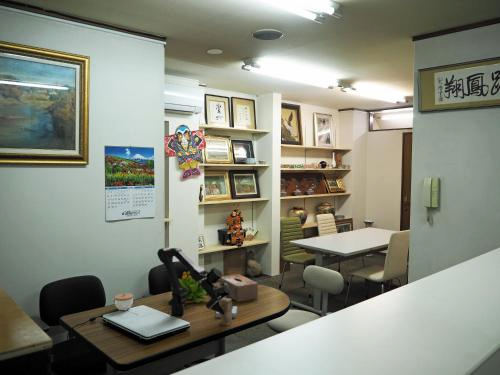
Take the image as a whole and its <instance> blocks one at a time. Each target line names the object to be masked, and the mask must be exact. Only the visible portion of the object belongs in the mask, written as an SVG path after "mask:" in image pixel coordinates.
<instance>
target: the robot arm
mask: <svg viewBox="0 0 500 375" xmlns="http://www.w3.org/2000/svg"><path fill="white" fill-rule="evenodd" d="M156 254H157V257H158V259H159V260H160V262H161V263H162V264H163V265H164V268H165V271H166V274H167V278H168V279H169V280H168V281H169V282H170V286H171V297H172V298H171V299H170V300H169V301H168V305H169V306H170V309H171V314H170V317H171V316H175V317H178V318H179V317H183V316H184V314H185V305H184V302H185V300H186V299H187V297H188V295H187V294H188V292H187V291H186V287H182V286H181V284H180V282H179V279H180V278H179V276H178V272H177V270H176V267H175V265H174V261H173V260H174V258H176V259H177V260H178V261H179V262H180V263H181V264H182V266H184V267H185V269H186V270H187V271H188V272H190V274H189V276H191V277H192V278H193V280H194V281H200V280H202V279H203V280H202V281H201V282H199V283H198V288H199V287H201V286H202V288H203V289H204V291H206V293H207V294H206V295H207V296H206V297H208V295H209V298H210V299H209V301H207V302H206V303H205V307H206V309H207V310H212V311H214V312H219V313H221V314H223V315H224V314H225V312H224V311H223V309H222V308H221V306H220V300H221V299H223V298H229V299H231V298H230V293H231V292H230V291H229V289H228V287H229V286H228V285H227V284H226V283H223V284H222V286H221V287H220V286H218V285H215V284H217V282H218V281H220V278H221V277H223V273H222V271H221V270H219V269H217V268H216V267H213V268H211V269H210V270H209V271H208V270H206V269H204V268H203V267H202V266H200V265H197V264H196V263H195V262H193V261H192V259H190V257H189V256H188V255H187V254H186V253H185V252H184V251H183V250H182V249H181V248H179V247H178V248H176V247H175V248H174V247H172V248H171V247H169V246H166V247H162V248H159V249H158V250H157V252H156ZM232 309H233V307H232Z"/></svg>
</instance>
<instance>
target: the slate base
mask: <svg viewBox="0 0 500 375" xmlns="http://www.w3.org/2000/svg"><path fill="white" fill-rule="evenodd" d="M232 307H233V309H232V319H233V318H235V319H236V318H237V314H238V306H237V305H236V306H233V305H232ZM215 318H220V313H219V312H217V311H215Z"/></svg>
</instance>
